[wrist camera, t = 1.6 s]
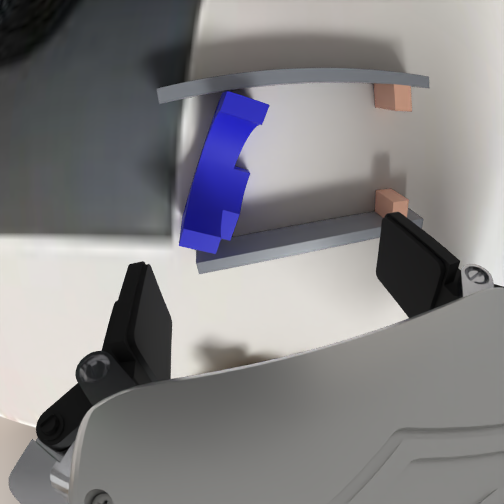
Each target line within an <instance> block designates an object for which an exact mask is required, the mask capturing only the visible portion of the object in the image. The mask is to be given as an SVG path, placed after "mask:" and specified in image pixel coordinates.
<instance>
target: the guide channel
mask: <svg viewBox="0 0 504 504" xmlns="http://www.w3.org/2000/svg"><path fill="white" fill-rule="evenodd" d="M330 82H344V83H374V96H375V107H377V108H383V109H388V110H394V111H412V103H411V86H412V87H422V88H429V77H428V76H422V75H415V74H408V73H400V72H392V71H382V70H369V69H352V68H295V69H277V70H265V71H254V72H245V73H237V74H230V75H223V76H216V77H210V78H204V79H199V80H194V81H189V82H184V83H179V84H175V85H170V86H166V87H162V88H158V89H157V94H158V99H159V104H161V103H167V102H171V101H176V100H180V99H185V98H190V97H195V96H200V95H205V94H211V93H217V92H223V91H229V90H236V89H244V88H252V87H261V86H271V85H283V84H298V83H330ZM408 202H409V200H408V199H407V198H405V197H403V196H402V195H400V194H399V193H397V192H396V191H394V190H392V189H391V188H389V189H382V190H376V198H375V211H374V212H368V213H362V214H357V215H351V216H345V217H339V218H334V219H328V220H323V221H317V222H312V223H306V224H301V225H295V226H290V227H284V228H279V229H274V230H268V231H263V232H258V233H252V234H247V235H242V236H237V237H232V238H231V240H230V241H229V240H225V239H222V240H220V243H219V246H218V249H217V252H216V254H213V253H208V252H204V251H200V250H196V264H197V268H198V271H199V274H203V273H208V272H213V271H218V270H223V269H228V268H233V267H238V266H243V265H249V264H254V263H259V262H264V261H269V260H274V259H279V258H283V257H288V256H293V255H298V254H303V253H308V252H313V251H318V250H323V249H327V248H332V247H337V246H342V245H347V244H351V243H356V242H361V241H366V240H370V239H375V238H380V233H381V223H382V219H383V218H384V217H385V215H386V214H387V213H393V212H400V213H401V214H403V215H404V216H406V217H407V218H408V219H409V220H411V221H412V222H413V223H415V224H416V225H417V226H419V227H420V228H422V225H423V218H422V217H420V216H419V215H418V214H416V213H415V212H413V211H412V210H411V209H409V208H408Z"/></svg>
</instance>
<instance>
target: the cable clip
mask: <svg viewBox="0 0 504 504" xmlns="http://www.w3.org/2000/svg"><path fill="white" fill-rule="evenodd" d="M268 108H269V105H268V104H265V103H262V102H260V101H257V100H254V99H251V98H248V97H245V96H242V95H239V94H236V93H232V92H229V91H226V92H223V93H222V94H221V97H220V100H219V103H218V105H217V108H216V111H215V114H214V117H213V119H212V122H211V125H210V128H209V131H208V134H207V137H206V140H205V143H204V146H203V149H202V152H201V156H200V159H199V162H198V165H197V168H196V172H195V175H194V178H193V182H192V185H191V188H190V192H189V195H188V199H187V202H186V206H185V210H184V213H183V217H182V225H181V233H180V241H179V246H182V247H186V248H191V249H195V250H200V251H204V252H208V253H213V254H216V252H217V249H218V246H219V243H220V240H221V239H225V240H229V241H230V240H231V237H232V234H233V232H234V229H235V226H236V223H237V221H238V218H239V215H240V210H241V204H242V200H243V195H244V191H245V188H246V185H247V181H248V178H249V175H250V173H249V171H248V170H246V169H243V168H240V167H236V166H235V164H236V161H237V159H238V156H239V154H240V152H241V150H242V147H243V145H244V143H245V142H246V140H247V138H248V136H249V135H250V133H251V132H252V131H253V129H254V128H255V127H256V126H258V125H260V124H261V125H262V123H263V121H264V118H265V116H266V113H267V110H268Z"/></svg>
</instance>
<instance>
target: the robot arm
mask: <svg viewBox="0 0 504 504" xmlns="http://www.w3.org/2000/svg"><path fill="white" fill-rule="evenodd" d="M459 263H460V260H458V259H457V258H456V257H455V256H454V255H453V254H452V253H450V252H449V251H448V250H447V249H446V248H445V247H443V246H442V245H441V244H440V243H439V242H437V241H436V240H435V239H434V238H432V237H431V236H430V235H429V234H427V233H426V232H425V231H424V230H422V229H421V228H420V227H419V226H417V225H416V224H415V223H413V222H412V221H411V220H409V219H408V218H407V217H406V216H404V215H403V214H401V213H400V212H393V213H387V214H386V215H385V217H384V218H383V219H382V223H381V233H380V243H379V252H378V260H377V267H376V275H377V278H378V279H379V281H380V282H381V283H382V284H383V285H384V287H385V288H386V289H387V290H388V292H389V293H390V294H391V295H392V297H393V298H394V299H395V300H396V302H397V303H398V304H399V305H400V307H401V308H402V309H403V311H404V312H405V313H406V314H407V316H408V317H409V319H406V320H403V321H401V322H398V323H395V324H392V325H389V326H386V327H384V328H381V329H378V330H375V331H372V332H369V333H366V334H363V335H360V336H356V337H353V338H350V339H347V340H343V341H340V342H337V343H333V344H330V345H326V346H323V347H319V348H316V349H312V350H308V351H304V352H301V353H297V354H293V355H289V356H285V357H281V358H277V359H272V360H268V361H264V362H259V363H255V364H250V365H245V366H240V367H235V368H230V369H225V370H220V371H215V372H209V373H204V374H198V375H192V376H186V377H180V378H174V379H171V339H172V320H171V316H170V314H169V311H168V309H167V306H166V304H165V302H164V299H163V297H162V294H161V292H160V289H159V286H158V284H157V281H156V279H155V276H154V273H153V271H152V268H151V266H150V264H147V265H146V264H145V262H138V263H133V264H129V266H128V269H127V272H126V275H125V279H124V282H123V285H122V289H121V292H120V295H119V299H118V301H116V302H115V304H114V306H113V310H112V313H111V317H110V321H109V324H108V328H107V332H106V336H105V340H104V344H103V348H102V351H96V352H92V353H90V354H88V355H87V356H85V357H84V358H83V359H82V360H81V361H80V363H79V364H78V366H77V369H76V379H77V381H78V383H77V384H76V385H75V386H74V387H73V388H72V389H70V390H69V391H68V392H67V393H66V394H65V395H63V396H62V397H61V398H60V399H59V400H58V401H56V402H55V403H54V404H53V405H52V406H51V407H50V408H48V409H47V410H46V411H45V412H44V413H43V414H42V415H41V416H40V418H39V420H38V422H37V426H36V433H37V436H38V438H37V439H36V441H35V440H33V439H32V440H31V442H30V443H29V445H28V446H27V448H26V449H25V451H24V452H23V454H22V456H21V457H20V459H19V460H18V462H17V464H16V466H15V467H14V469H13V470H12V472H11V474H10V476H9V488H10V490H11V492H12V494H13V495H14V497H16V499H17V500H18V501H19V502H20V503H21V504H504V287H502V286H499V285H495V284H494V283H493V279H492V276H491V274H490V273H489V272H488V271H487V270H486V269H485V268H483V267H481V266H479V265H476V264H466V265H464V266H463V267H462V269H461V270H460V269H459V268H458V267H459Z"/></svg>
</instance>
